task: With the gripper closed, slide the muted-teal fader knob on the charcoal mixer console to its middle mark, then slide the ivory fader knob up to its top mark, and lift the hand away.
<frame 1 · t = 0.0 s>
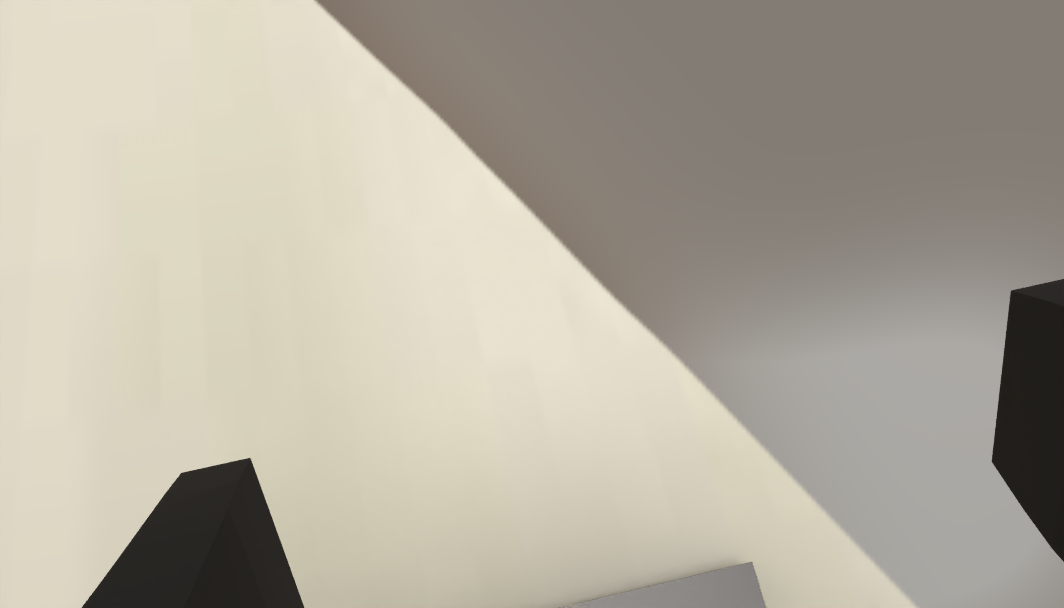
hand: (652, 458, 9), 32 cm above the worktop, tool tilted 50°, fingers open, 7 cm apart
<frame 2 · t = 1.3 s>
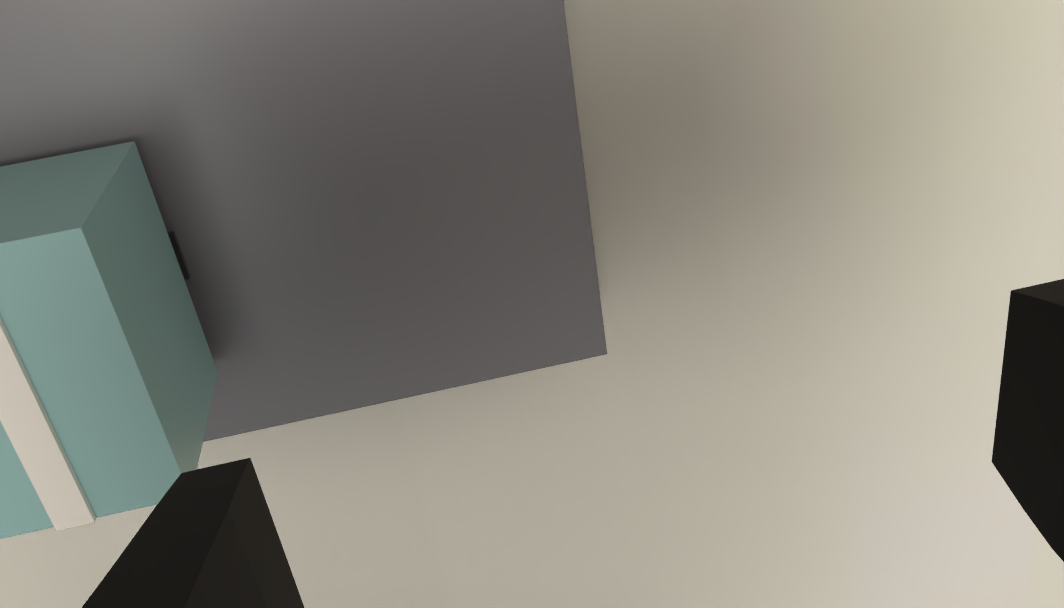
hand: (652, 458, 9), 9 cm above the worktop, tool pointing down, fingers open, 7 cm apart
teal fader: (50, 337, 13), point 4 cm above the worktop, slide at 0.0 cm
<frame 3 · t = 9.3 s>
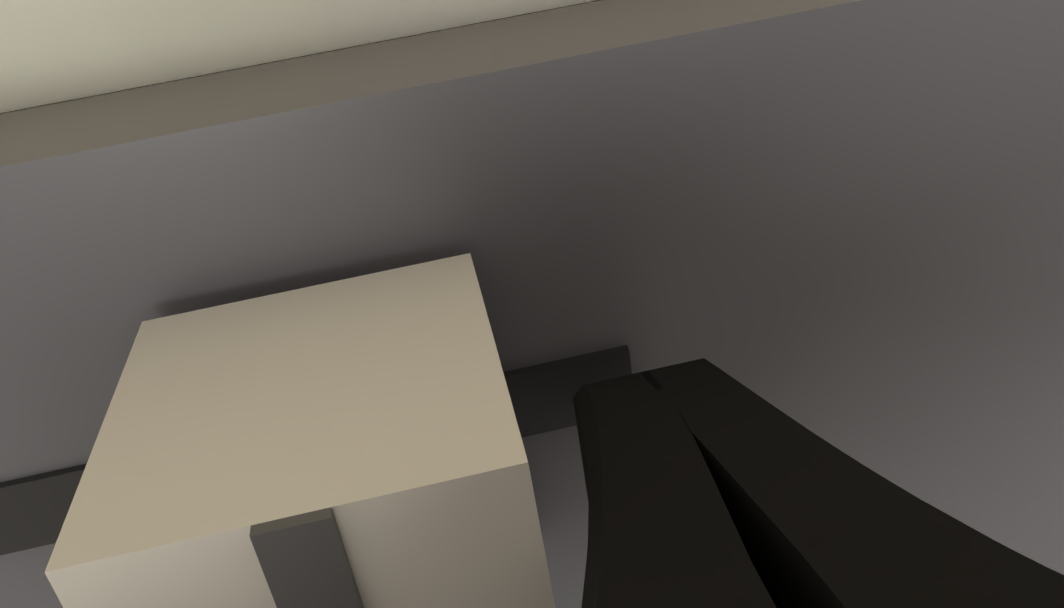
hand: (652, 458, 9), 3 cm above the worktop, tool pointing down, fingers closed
ivory fader: (362, 575, 8), point 4 cm above the worktop, slide at 1.4 cm, touching gripper
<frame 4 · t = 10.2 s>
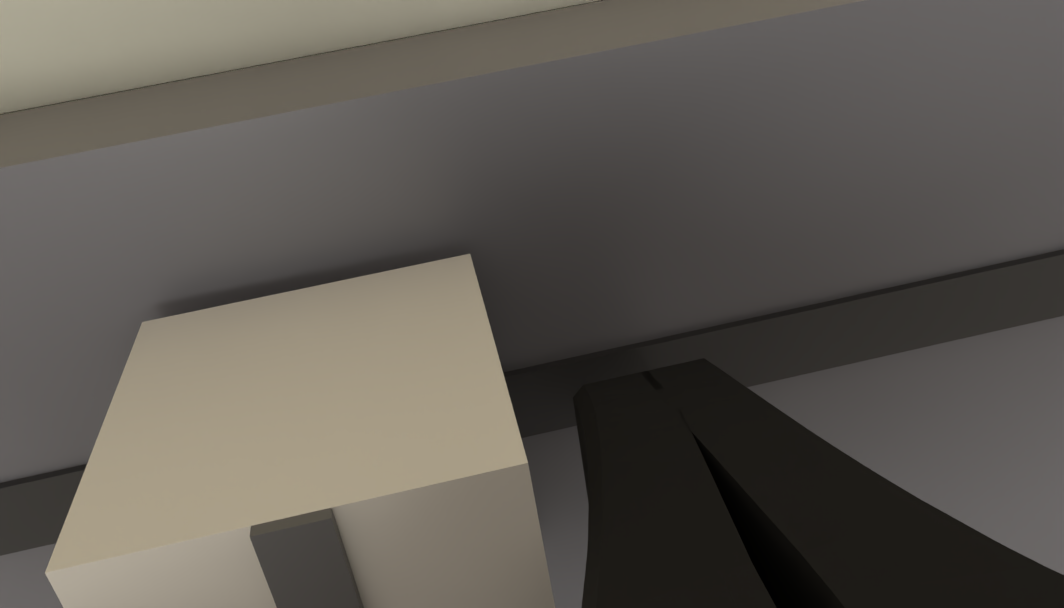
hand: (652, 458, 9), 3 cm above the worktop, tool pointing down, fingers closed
console: (610, 560, 14), on the worktop
ivory fader: (362, 575, 8), point 4 cm above the worktop, slide at 6.7 cm, touching gripper
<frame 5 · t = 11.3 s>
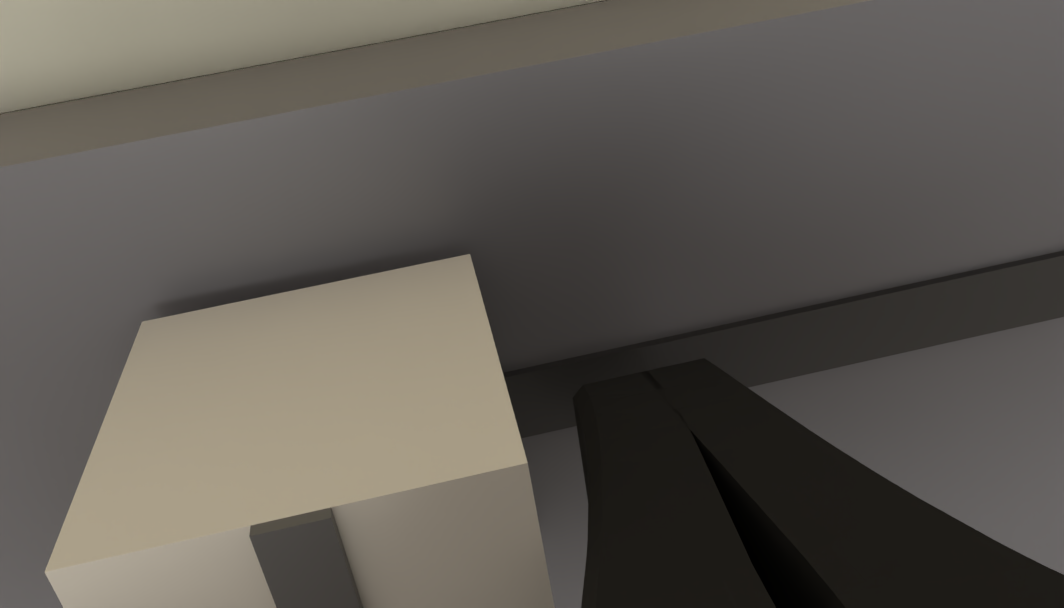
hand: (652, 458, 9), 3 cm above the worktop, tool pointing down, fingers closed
console: (876, 498, 15), on the worktop
ivory fader: (361, 575, 8), point 4 cm above the worktop, slide at 10.9 cm, touching gripper
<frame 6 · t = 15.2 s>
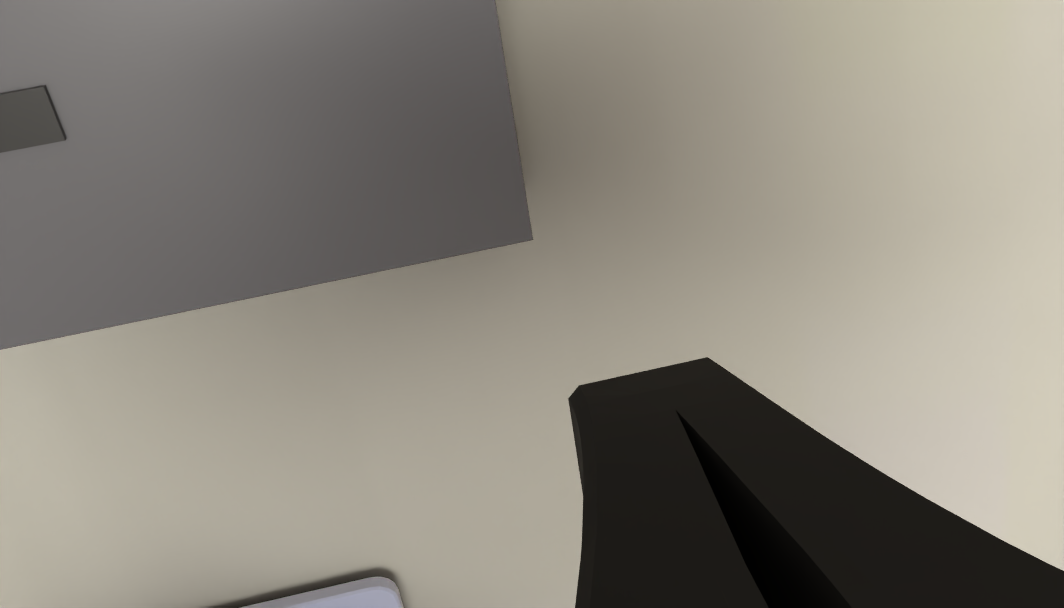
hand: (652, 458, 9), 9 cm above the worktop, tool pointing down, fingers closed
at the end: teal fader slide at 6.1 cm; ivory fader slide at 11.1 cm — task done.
